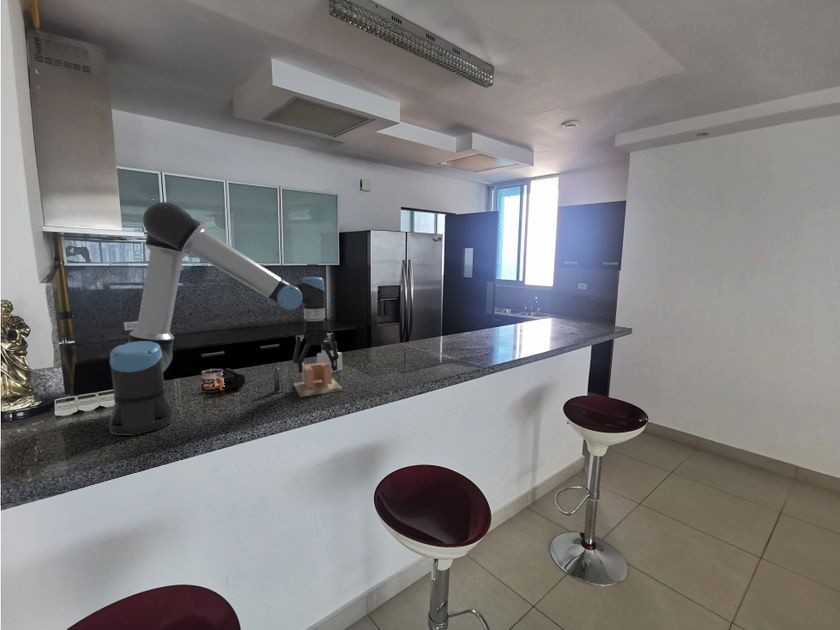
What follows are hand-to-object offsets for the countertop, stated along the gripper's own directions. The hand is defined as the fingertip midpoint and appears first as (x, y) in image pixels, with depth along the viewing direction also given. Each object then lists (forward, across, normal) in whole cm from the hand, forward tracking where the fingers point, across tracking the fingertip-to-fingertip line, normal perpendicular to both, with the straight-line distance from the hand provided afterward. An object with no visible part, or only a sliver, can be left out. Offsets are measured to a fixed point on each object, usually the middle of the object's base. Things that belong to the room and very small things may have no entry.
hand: (316, 379), depth 144 cm
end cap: (+4, -29, +13) cm, 32 cm away
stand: (+3, -14, +1) cm, 14 cm away
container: (+4, +10, +21) cm, 24 cm away
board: (+3, 0, -1) cm, 3 cm away
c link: (+1, 0, -1) cm, 1 cm away
